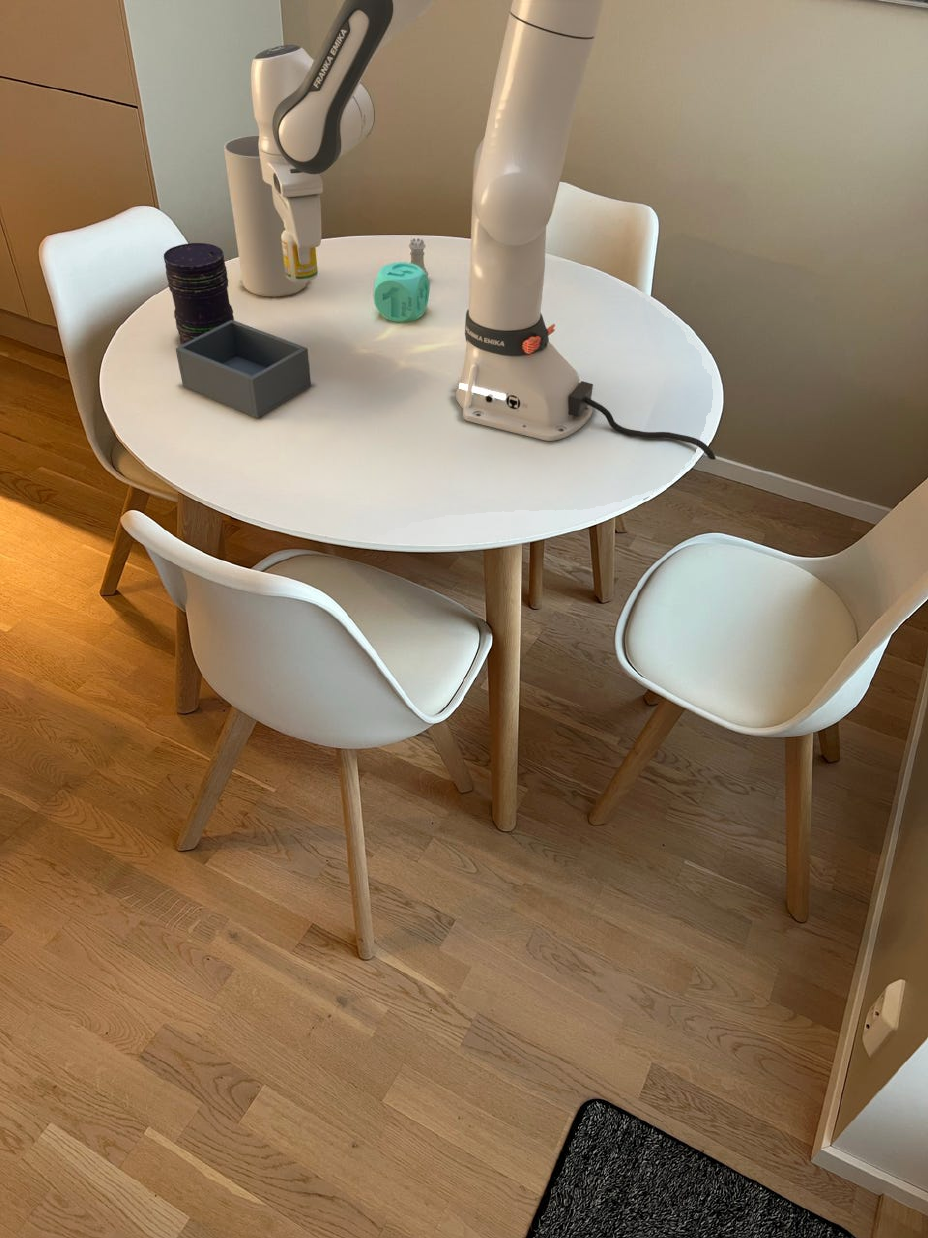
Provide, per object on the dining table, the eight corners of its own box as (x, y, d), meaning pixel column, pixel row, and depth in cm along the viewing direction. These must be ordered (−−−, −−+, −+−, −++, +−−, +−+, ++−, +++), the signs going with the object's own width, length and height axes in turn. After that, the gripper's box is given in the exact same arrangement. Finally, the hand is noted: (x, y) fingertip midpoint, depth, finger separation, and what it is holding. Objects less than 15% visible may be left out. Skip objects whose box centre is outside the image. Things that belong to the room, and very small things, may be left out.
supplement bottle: (280, 279, 155) (272, 221, 148) (297, 267, 158) (290, 210, 152) (307, 285, 153) (301, 226, 147) (324, 273, 157) (318, 215, 150)
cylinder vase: (230, 281, 180) (210, 143, 163) (284, 265, 187) (270, 130, 170) (266, 303, 174) (248, 161, 157) (320, 286, 180) (309, 148, 163)
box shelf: (311, 386, 152) (307, 347, 148) (258, 418, 145) (252, 379, 140) (237, 356, 159) (231, 319, 154) (182, 386, 151) (174, 347, 146)
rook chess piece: (402, 278, 184) (402, 237, 178) (423, 275, 185) (423, 234, 180) (411, 287, 181) (410, 246, 175) (432, 284, 182) (432, 243, 177)
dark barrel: (180, 354, 159) (163, 268, 148) (177, 328, 166) (161, 244, 155) (239, 348, 161) (226, 263, 151) (234, 323, 168) (221, 240, 157)
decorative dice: (374, 318, 171) (372, 275, 165) (390, 300, 176) (389, 258, 171) (414, 325, 169) (414, 283, 164) (429, 307, 175) (430, 265, 169)
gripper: (257, 148, 150) (268, 234, 160) (283, 189, 136) (294, 281, 146) (295, 144, 152) (304, 230, 161) (325, 185, 138) (333, 276, 147)
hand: (300, 255), depth 153 cm, fingers closed on supplement bottle, 5 cm apart
